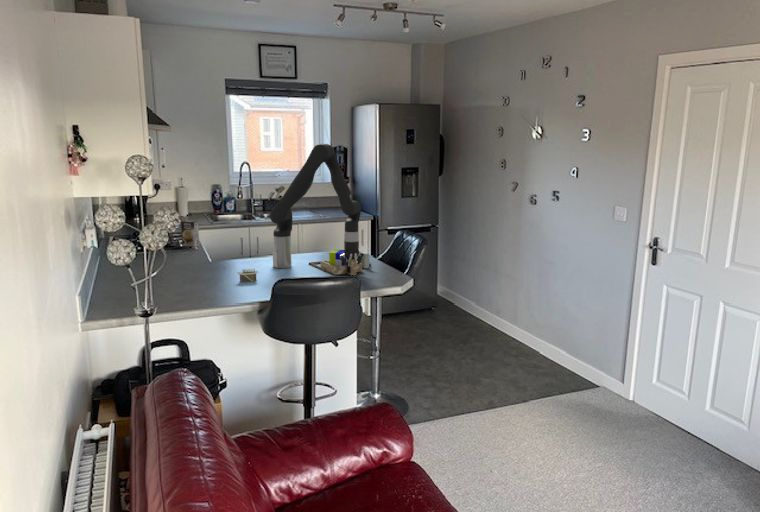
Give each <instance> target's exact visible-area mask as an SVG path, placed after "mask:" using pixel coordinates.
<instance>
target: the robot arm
mask: <svg viewBox="0 0 760 512" xmlns="http://www.w3.org/2000/svg"><path fill="white" fill-rule="evenodd" d="M323 163H324V164H325V165H326V167H327V169H328V171H329V173H330V178H331V183H332V187H333V189H334V192H335V193H336V196H337V197H338V201H339V205H340V208H341V210H342V212H343V214H344V215H346V216H347V219H346V220H345V221H344V236H343V238H344V239H343V244H344V245H343V247H344V248H343V250H345V251H344V254H342V255H339V257H340V259H341V261H342V263H343V265H345V266H346V271H347V273H350V262H351V260H352V259H355V260H356V266H357V265H358V264H360V262H361V260H362V257H363V255H364V254H363V253H360V252H361V251H360V250H359V248H360V235H359V234H360V233H359V223H360V222H359V221H360V218H361V217H360V216H361V212H362V207H361V204H360V202H359V201H357V200H352V198H351V195H352V191H351V189H350V187H349V185H348V182H347V181H346V179H345V177H344V175H343V174H344V173H343V171H342V169H341V167H340V164H339V160H338V157H337V154H336V151H335V149H334V147H333V146H332V145H331V144H329V143H319V144H315V146H314V147H313V148H312V149H311V151H310V153H309V155H308V157H307V159H306V161H305V163H304V164H303V166H302V167H301V168H300V170H299V172H298V173H297V174H296V176H295V177H294V178H293V180H292V182H291V183H290V185H289V187H288V188H287V189H286V191H285V193H284V194H283V195H282V197H281V198H280V199H279V201H278V202H277V203H276V204H275V205H274V206H273V208H272V209H271V211H270V215H269V218H270V221H271V222H272V223H273V224H275V225H276V227H275V229H274V230H273V249H272V267H274V268H276V269H288V268H291V267H292V230H293V212H292V207H293V206H294V205H295V204H297V202H299V201H300V200H301V199H303V198H304V197H305V195H306V194H307V193H308V191H309V189H311V188H312V185H313V183H314V180H315V179H314V178H315V175H316V172H317V171H318V170H319V168H320V167H321V165H322V164H323ZM345 256H346V261H345V259H344V258H345ZM357 256H358V258H357ZM348 259H349V260H348ZM347 273H346V274H347Z"/></svg>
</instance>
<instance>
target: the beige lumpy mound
mask: <svg viewBox="0 0 760 512" xmlns="http://www.w3.org/2000/svg"><path fill="white" fill-rule="evenodd" d="M348 260H349V259H348ZM320 261H321V264H320V267H322V268H324V269H325V272H328V273H331V274H333V275H342V274H343V275H344V274H348V275H350V276H352V275H353V276H357V273H359V272H363V267H362V264H361V263H360V264H358V265H357V266H356V260H355V259H352V260H351V262H350V273H347V271H346V266H333V265H331V264H329V259H327V260H320Z"/></svg>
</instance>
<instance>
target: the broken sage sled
mask: <svg viewBox="0 0 760 512" xmlns="http://www.w3.org/2000/svg"><path fill="white" fill-rule="evenodd" d="M359 252H360V253H363V254H364V255H363V257H362V260H361V262H360V263H361V264H362V269H368V268H370V266H369V263H370V258H369V257H370V254H369V253H368V252H365V251H359ZM357 258H358V256H357Z"/></svg>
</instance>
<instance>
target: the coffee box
mask: <svg viewBox="0 0 760 512" xmlns="http://www.w3.org/2000/svg"><path fill="white" fill-rule="evenodd" d="M180 226H181V227H180V228H181V229H180V230H181V246H182V247H197V246H200V232H199V231H200V230H199V220H190V219H189V220H188V219H186V220H181V221H180Z"/></svg>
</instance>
